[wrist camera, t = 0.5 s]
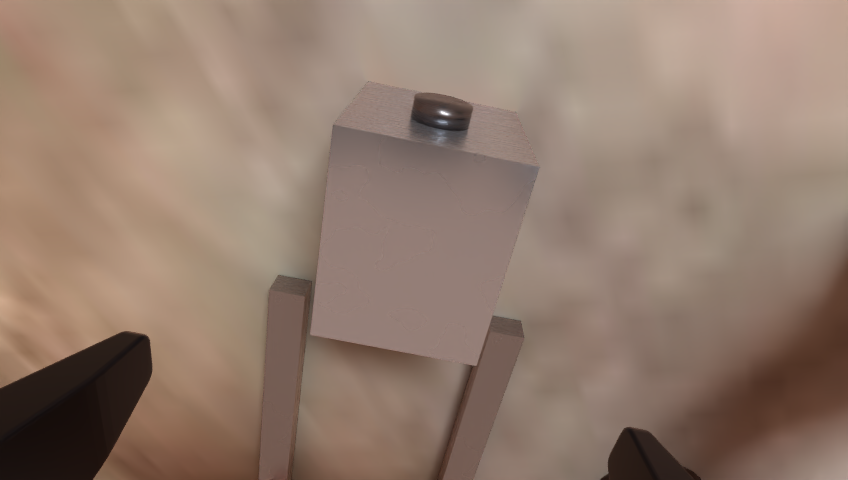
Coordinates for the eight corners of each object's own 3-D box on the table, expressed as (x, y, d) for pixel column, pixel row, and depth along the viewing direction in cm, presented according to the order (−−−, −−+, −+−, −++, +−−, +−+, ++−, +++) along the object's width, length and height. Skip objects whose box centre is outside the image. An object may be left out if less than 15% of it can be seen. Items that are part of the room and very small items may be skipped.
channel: (520, 321, 23) (534, 394, 19) (441, 548, 31) (439, 632, 27) (278, 274, 22) (240, 340, 18) (262, 517, 31) (233, 598, 27)
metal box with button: (520, 95, 18) (546, 144, 13) (471, 270, 22) (476, 365, 17) (370, 63, 18) (335, 101, 13) (345, 246, 22) (310, 334, 16)
